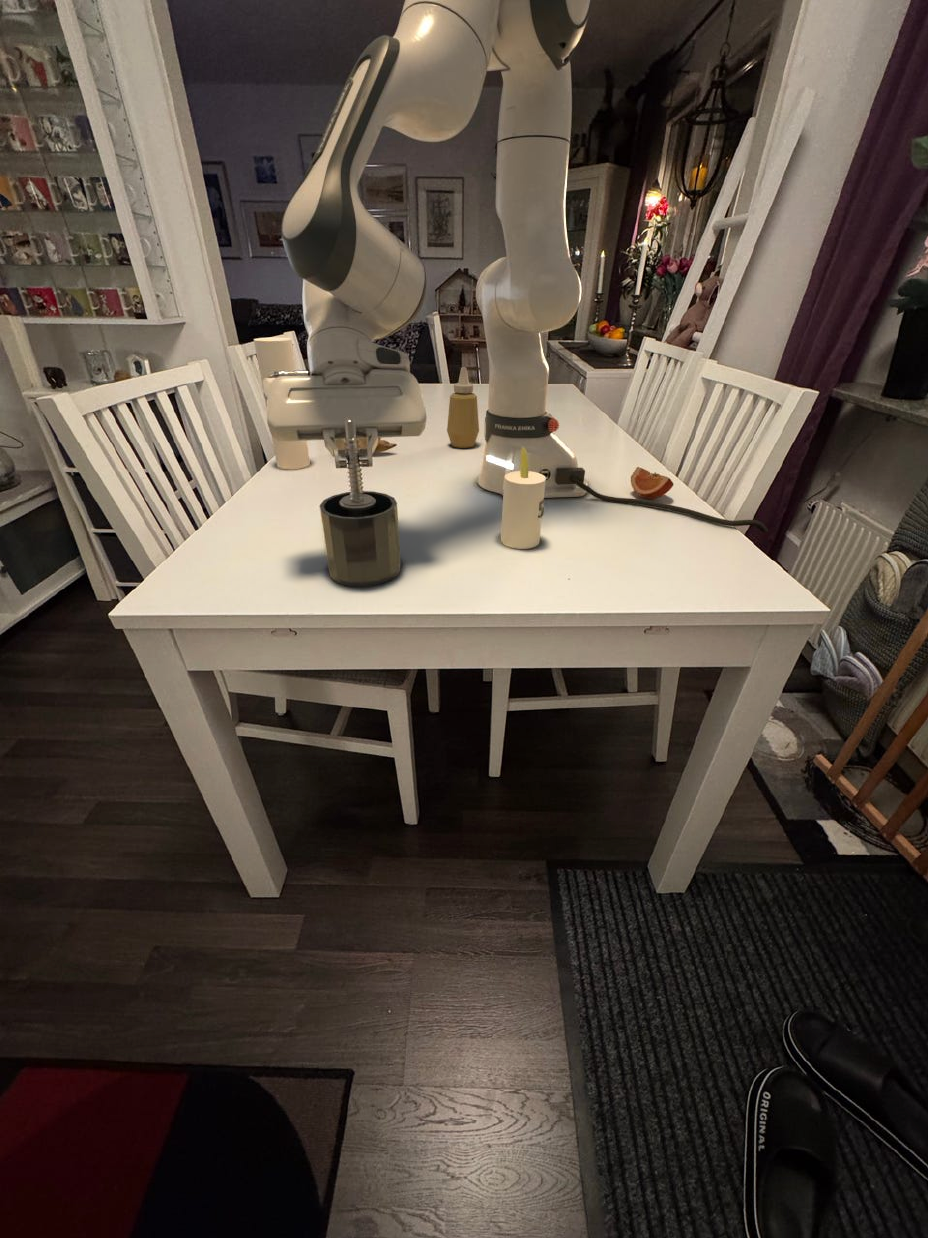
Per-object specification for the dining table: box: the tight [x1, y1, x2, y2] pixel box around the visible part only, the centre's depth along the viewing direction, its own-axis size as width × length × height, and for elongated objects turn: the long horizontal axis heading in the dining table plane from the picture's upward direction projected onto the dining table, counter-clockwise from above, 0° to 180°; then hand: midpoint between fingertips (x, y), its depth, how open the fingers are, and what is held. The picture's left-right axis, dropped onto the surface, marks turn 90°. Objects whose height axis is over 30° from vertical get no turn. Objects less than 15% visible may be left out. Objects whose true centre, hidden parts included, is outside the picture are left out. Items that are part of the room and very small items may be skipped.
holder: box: [318, 490, 402, 588], centre depth 73 cm, size 10×10×10 cm
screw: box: [339, 417, 376, 517], centre depth 68 cm, size 13×5×5 cm
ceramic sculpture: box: [335, 438, 398, 453], centre depth 123 cm, size 11×9×15 cm
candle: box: [500, 446, 546, 550], centre depth 81 cm, size 6×6×15 cm
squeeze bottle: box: [446, 366, 480, 449], centre depth 127 cm, size 8×8×18 cm
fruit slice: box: [630, 466, 674, 500], centre depth 101 cm, size 8×7×5 cm
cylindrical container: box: [253, 336, 311, 471], centre depth 110 cm, size 7×7×25 cm
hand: (354, 465), depth 67 cm, fingers closed on screw, 2 cm apart
